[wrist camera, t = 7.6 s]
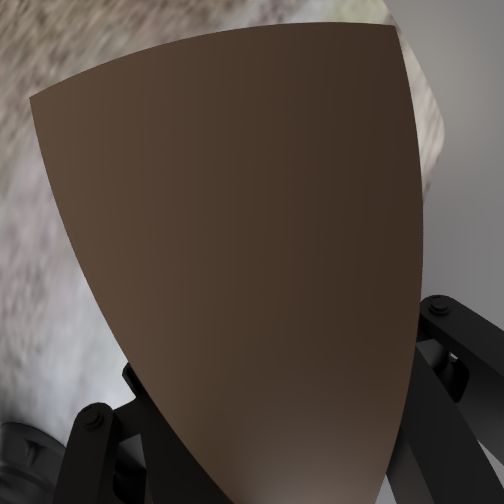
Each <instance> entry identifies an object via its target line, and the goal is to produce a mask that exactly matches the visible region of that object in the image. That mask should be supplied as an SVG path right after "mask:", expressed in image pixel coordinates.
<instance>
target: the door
mask: <svg viewBox="0 0 504 504" xmlns="http://www.w3.org/2000/svg"><path fill="white" fill-rule="evenodd" d="M29 99H30V104H31V110H32V115H33V120H34V124H35V129H36V133H37V138H38V142H39V146H40V150H41V154H42V158H43V161H44V165H45V168H46V172H47V175H48V179H49V182H50V185H51V189H52V192H53V195H54V198H55V201H56V204H57V207H58V210H59V213H60V216H61V218H62V221H63V224H64V227H65V229H66V232H67V235H68V237H69V240H70V242H71V245H72V247H73V250H74V252H75V255H76V257H77V260H78V262H79V264H80V267H81V269H82V271H83V274H84V276H85V278H86V280H87V283H88V285H89V287H90V289H91V291H92V293H93V295H94V298H95V300H96V302H97V304H98V306H99V308H100V310H101V312H102V314H103V316H104V318H105V320H106V322H107V324H108V325H109V327H110V329H111V331H112V333H113V335H114V337H115V339H116V340H117V342H118V344H119V346H120V348H121V349H122V351H123V353H124V355H125V356H126V358H127V360H128V362H129V363H130V365H131V367H132V368H133V370H134V372H135V373H136V375H137V376H138V378H139V380H140V381H141V383H142V385H143V386H144V388H145V389H146V391H147V392H148V394H149V395H150V397H151V398H152V400H153V401H154V403H155V404H156V406H157V407H158V409H159V410H160V412H161V413H162V415H163V416H164V418H165V419H166V420H167V422H168V423H169V425H170V426H171V427H172V429H173V430H174V432H175V433H176V434H177V436H178V437H179V438H180V440H181V441H182V442H183V444H184V445H185V446H186V448H187V449H188V450H189V451H190V453H191V454H192V455H193V456H194V458H195V459H196V460H197V461H198V463H199V464H200V465H201V466H202V468H203V469H204V470H205V471H206V472H207V474H208V475H209V476H210V477H211V478H212V479H213V481H214V482H215V483H216V484H217V485H218V486H219V487H220V489H221V490H222V491H223V492H224V493H225V494H226V495H227V496H228V497H229V498H230V499H231V501H232V502H233V503H234V504H375V502H376V499H377V496H378V494H379V491H380V488H381V486H382V483H383V480H384V477H385V474H386V471H387V468H388V465H389V462H390V458H391V455H392V452H393V448H394V445H395V441H396V438H397V434H398V430H399V426H400V422H401V418H402V414H403V410H404V405H405V401H406V396H407V391H408V386H409V381H410V376H411V370H412V364H413V358H414V351H415V344H416V337H417V329H418V320H419V310H420V299H421V285H422V267H423V200H422V181H421V167H420V156H419V147H418V138H417V130H416V123H415V116H414V109H413V103H412V98H411V92H410V87H409V82H408V77H407V72H406V67H405V63H404V59H403V55H402V50H401V47H400V43H399V39H398V35H397V32H396V28H395V26H392V25H381V24H368V23H346V22H313V23H291V24H277V25H266V26H257V27H249V28H241V29H234V30H228V31H222V32H216V33H211V34H206V35H201V36H196V37H191V38H187V39H183V40H178V41H174V42H170V43H167V44H163V45H159V46H156V47H152V48H149V49H145V50H142V51H139V52H136V53H132V54H129V55H126V56H123V57H120V58H118V59H115V60H112V61H109V62H107V63H104V64H101V65H99V66H96V67H94V68H91V69H89V70H86V71H84V72H81V73H79V74H77V75H74V76H72V77H70V78H68V79H65V80H63V81H61V82H59V83H57V84H55V85H53V86H51V87H49V88H47V89H45V90H43V91H41V92H39V93H37V94H35V95H33V96H31V97H29Z"/></svg>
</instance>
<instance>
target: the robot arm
mask: <svg viewBox="0 0 504 504" xmlns="http://www.w3.org/2000/svg"><path fill="white" fill-rule="evenodd" d="M451 353H452V354H453V355H455V356H456V357H457V358H458V359H455V358H453V357H452V356H451ZM122 376H123V378H124V380H125V381H126V383H127V384H128V386H129V387H130V389H131V390H132V392H133V393H134V395H135V396H136V398H135V399H134V400H133V401H131V402H129V403H127V404H125V405H123V406H121V407H119V408H117V409H114V410H112V408H111V407H110V406H109V405H107V404H105V403H99V402H97V403H93V404H90V405H88V406H86V407H85V408H83V409H82V410H81V411H80V412H79V413H78V415H77V417H76V418H75V421H74V424H73V427H72V430H71V433H70V436H69V440H68V443H67V446H66V449H65V448H64V447H63V446H62V445H61V444H60V443H58V442H57V441H56V440H54V439H53V438H51V437H50V436H48V435H46V434H44V433H42V432H40V431H38V430H36V429H34V428H31V427H29V426H26V425H22V424H18V423H6V424H4V425H2V426H1V429H0V504H234V503H233V502H232V501H231V499H230V498H229V497H228V496H227V495H226V494H225V493H224V492H223V491H222V490H221V489H220V487H219V486H218V485H217V484H216V483H215V482H214V481H213V479H212V478H211V477H210V476H209V475H208V474H207V472H206V471H205V470H204V469H203V468H202V466H201V465H200V464H199V463H198V461H197V460H196V459H195V458H194V456H193V455H192V454H191V453H190V451H189V450H188V449H187V448H186V446H185V445H184V444H183V442H182V441H181V440H180V438H179V437H178V436H177V434H176V433H175V432H174V430H173V429H172V427H171V426H170V425H169V423H168V422H167V420H166V419H165V418H164V416H163V415H162V413H161V412H160V410H159V409H158V407H157V406H156V404H155V403H154V401H153V400H152V398H151V397H150V395H149V394H148V392H147V391H146V389H145V388H144V386H143V385H142V383H141V381H140V380H139V378H138V376H137V375H136V373H135V372H134V370H133V368H132V367H131V365H130V363H129V362H128V363H127V364H126V366H125V367H124V369H123V373H122ZM477 440H479V441H480V443H481V444H483V445H484V447H485V448H487V449H488V450H489V451H490V452H491V453H492V454H493V455H494V456H495V457H496V458H497V459H498V460H499V461H500V462H501V463H502V464H503V465H504V331H503V330H501V329H500V328H498V327H497V326H495V325H494V324H492V323H491V322H489V321H488V320H486V319H485V318H483V317H481V316H480V315H478V314H477V313H475V312H474V311H472V310H470V309H469V308H467V307H466V306H464V305H462V304H461V303H459V302H458V301H456V300H455V299H453V298H450V297H448V296H444V295H432V296H429V297H427V298H425V299H423V300H422V301H421V302H420V310H419V320H418V329H417V337H416V344H415V351H414V358H413V364H412V370H411V376H410V381H409V386H408V391H407V396H406V401H405V405H404V410H403V414H402V418H401V422H400V426H399V430H398V434H397V438H396V441H395V445H394V448H393V452H392V455H391V458H390V462H389V465H388V468H387V471H386V475H387V478H388V481H389V483H390V486H391V489H392V492H393V495H394V497H395V500H396V503H397V504H504V488H503V486H502V484H501V483H500V481H499V479H498V477H497V475H496V473H495V471H494V469H493V467H492V466H491V464H490V462H489V460H488V458H487V457H486V455H485V453H484V451H483V450H482V448H481V446H480V444H479V443H478V441H477Z"/></svg>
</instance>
